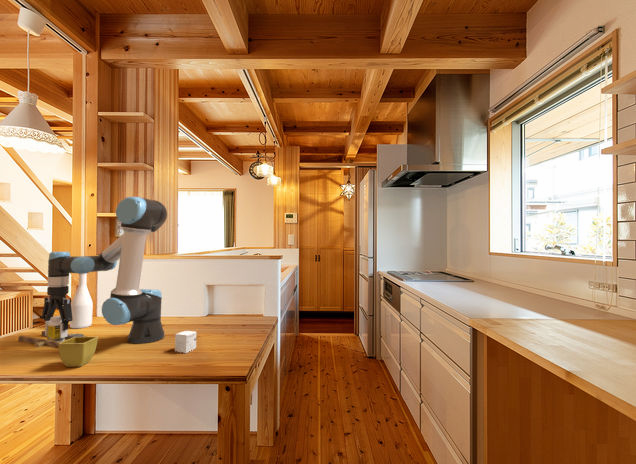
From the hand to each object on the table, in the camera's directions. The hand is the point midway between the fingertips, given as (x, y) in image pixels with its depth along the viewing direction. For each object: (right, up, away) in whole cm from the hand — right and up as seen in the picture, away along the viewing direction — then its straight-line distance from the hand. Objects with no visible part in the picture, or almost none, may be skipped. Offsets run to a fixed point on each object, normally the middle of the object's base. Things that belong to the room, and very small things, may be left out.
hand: (56, 336), depth 144 cm
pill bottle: (0, -3, 0) cm, 3 cm away
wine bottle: (-8, -3, +25) cm, 27 cm away
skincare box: (+62, -3, -9) cm, 63 cm away
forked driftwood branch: (0, -2, 0) cm, 2 cm away
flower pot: (+29, -2, -26) cm, 39 cm away
